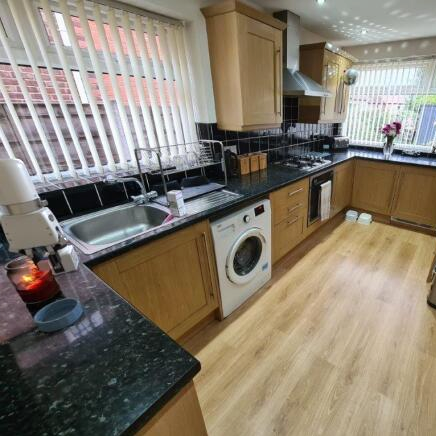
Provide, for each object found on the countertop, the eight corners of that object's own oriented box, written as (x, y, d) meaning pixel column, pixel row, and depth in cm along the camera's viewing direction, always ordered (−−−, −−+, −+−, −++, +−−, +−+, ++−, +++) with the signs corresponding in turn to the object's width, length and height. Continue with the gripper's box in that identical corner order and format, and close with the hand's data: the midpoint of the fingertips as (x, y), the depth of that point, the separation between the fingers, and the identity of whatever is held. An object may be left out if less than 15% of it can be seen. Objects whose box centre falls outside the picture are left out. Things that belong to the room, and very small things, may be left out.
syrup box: (186, 213, 148) (181, 190, 142) (179, 217, 142) (175, 193, 137) (178, 212, 149) (173, 189, 143) (171, 216, 144) (166, 192, 138)
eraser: (52, 269, 70) (48, 261, 69) (40, 271, 69) (36, 263, 68) (59, 260, 74) (56, 252, 73) (48, 262, 73) (44, 254, 72)
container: (77, 270, 94) (64, 240, 89) (50, 277, 90) (35, 246, 85) (79, 260, 100) (67, 232, 95) (54, 267, 96) (40, 238, 91)
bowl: (31, 338, 66) (25, 327, 64) (49, 312, 74) (44, 302, 73) (76, 327, 69) (71, 317, 68) (88, 303, 78) (84, 294, 76)
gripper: (66, 198, 70) (87, 253, 77) (-11, 206, 64) (20, 265, 72) (55, 207, 64) (79, 266, 71) (-32, 216, 58) (5, 280, 65)
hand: (49, 265), depth 71 cm, fingers closed on eraser, 2 cm apart
